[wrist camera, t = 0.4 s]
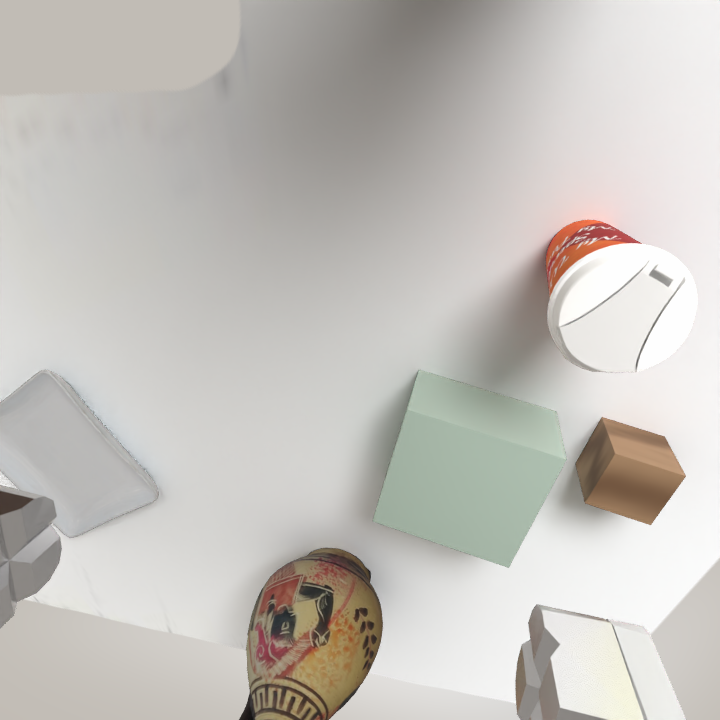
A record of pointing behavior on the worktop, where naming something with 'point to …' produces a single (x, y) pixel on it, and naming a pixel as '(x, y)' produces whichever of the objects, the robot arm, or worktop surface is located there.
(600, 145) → the worktop surface
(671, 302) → the coffee cup
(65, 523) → the salad plate
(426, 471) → the sage box
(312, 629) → the ceramic jug
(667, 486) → the walnut block
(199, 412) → the worktop surface
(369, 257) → the worktop surface
